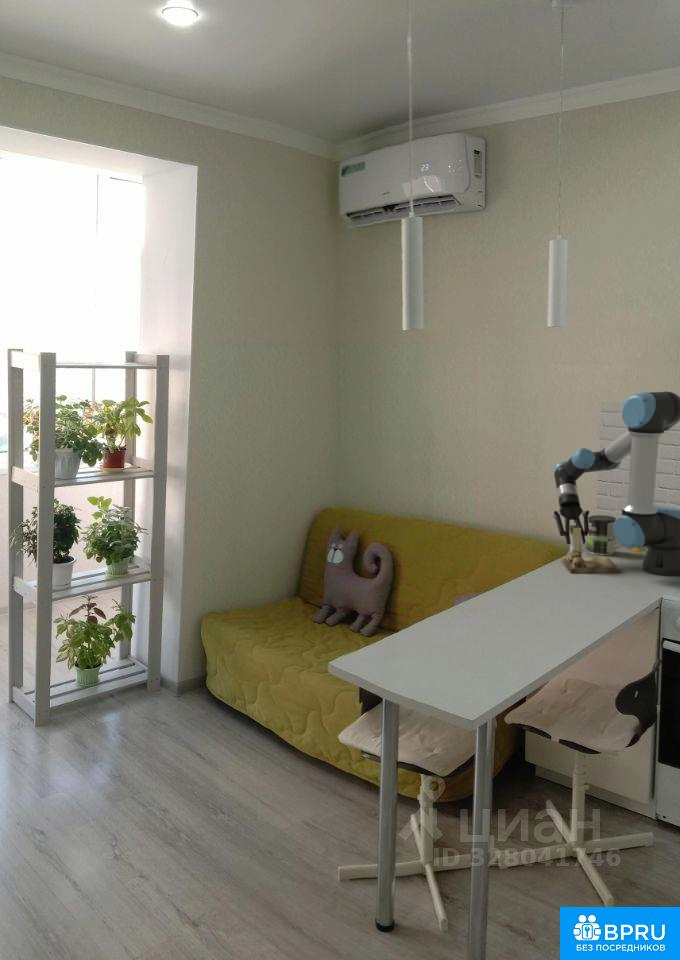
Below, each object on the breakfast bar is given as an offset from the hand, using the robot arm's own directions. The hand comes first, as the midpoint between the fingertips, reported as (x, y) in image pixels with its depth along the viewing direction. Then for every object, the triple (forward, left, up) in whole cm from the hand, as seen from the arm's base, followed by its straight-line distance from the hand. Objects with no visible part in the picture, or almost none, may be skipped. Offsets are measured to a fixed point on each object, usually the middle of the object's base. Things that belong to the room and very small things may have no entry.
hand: (577, 550), depth 297 cm
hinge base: (-6, -3, -7) cm, 10 cm away
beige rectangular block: (-1, -4, -4) cm, 6 cm away
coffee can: (-20, -24, -7) cm, 32 cm away
